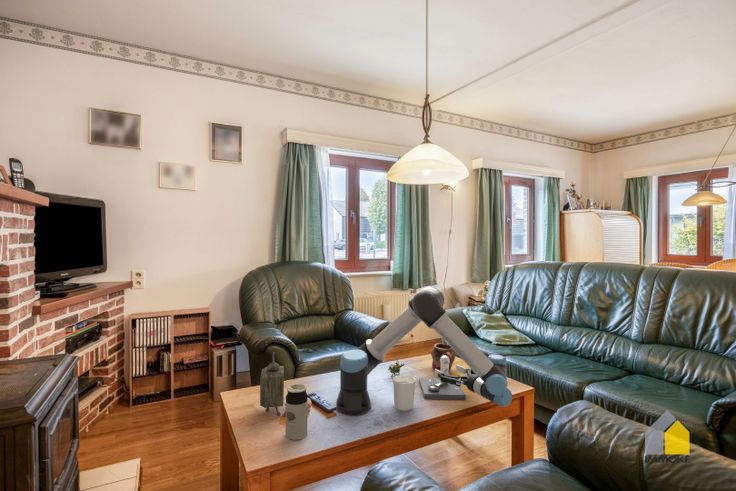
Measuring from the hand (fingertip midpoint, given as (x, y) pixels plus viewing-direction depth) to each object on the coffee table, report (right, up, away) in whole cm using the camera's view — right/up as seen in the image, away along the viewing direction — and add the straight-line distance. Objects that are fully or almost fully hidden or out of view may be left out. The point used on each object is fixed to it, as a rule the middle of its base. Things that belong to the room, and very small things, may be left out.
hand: (446, 369), depth 182 cm
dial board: (-3, -10, -1) cm, 10 cm away
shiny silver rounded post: (-4, -7, -2) cm, 9 cm away
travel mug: (-65, -10, -43) cm, 78 cm away
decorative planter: (+3, -9, +24) cm, 26 cm away
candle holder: (-22, -10, -18) cm, 31 cm away
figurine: (-23, -9, +17) cm, 30 cm away
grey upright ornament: (-78, -10, -24) cm, 83 cm away
